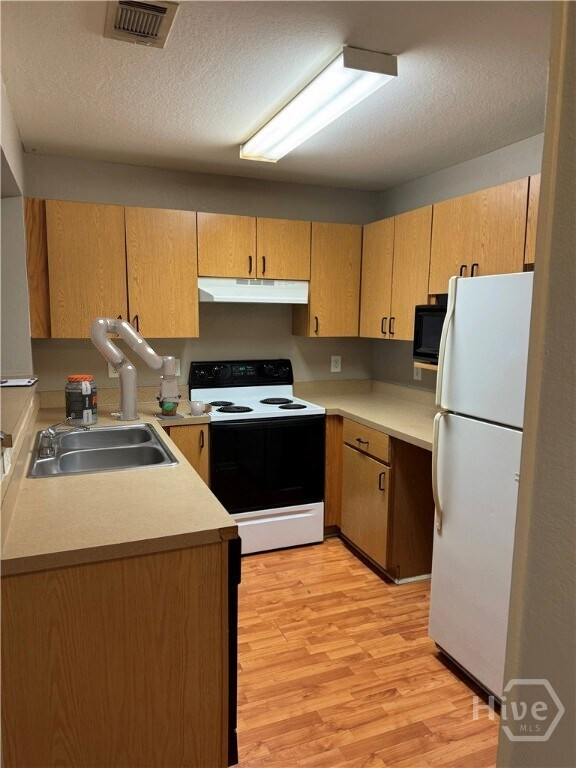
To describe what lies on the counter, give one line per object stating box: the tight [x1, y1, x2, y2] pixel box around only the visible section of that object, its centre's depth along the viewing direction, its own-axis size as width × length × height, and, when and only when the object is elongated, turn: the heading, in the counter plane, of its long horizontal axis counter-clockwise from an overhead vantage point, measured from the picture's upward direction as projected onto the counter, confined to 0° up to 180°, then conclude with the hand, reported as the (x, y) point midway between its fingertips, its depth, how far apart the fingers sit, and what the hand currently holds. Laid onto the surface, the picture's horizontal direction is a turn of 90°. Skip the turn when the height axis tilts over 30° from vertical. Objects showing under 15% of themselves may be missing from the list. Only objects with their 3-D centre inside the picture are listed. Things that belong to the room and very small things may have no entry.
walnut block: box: [203, 403, 213, 414], centre depth 312 cm, size 5×5×5 cm
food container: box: [160, 397, 180, 416], centre depth 296 cm, size 12×6×10 cm, turn 54°
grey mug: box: [190, 400, 206, 417], centre depth 304 cm, size 8×7×8 cm
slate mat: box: [153, 412, 185, 421], centre depth 298 cm, size 12×16×1 cm
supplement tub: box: [64, 374, 99, 427], centre depth 273 cm, size 16×16×26 cm
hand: (168, 407), depth 297 cm, fingers open, 8 cm apart
